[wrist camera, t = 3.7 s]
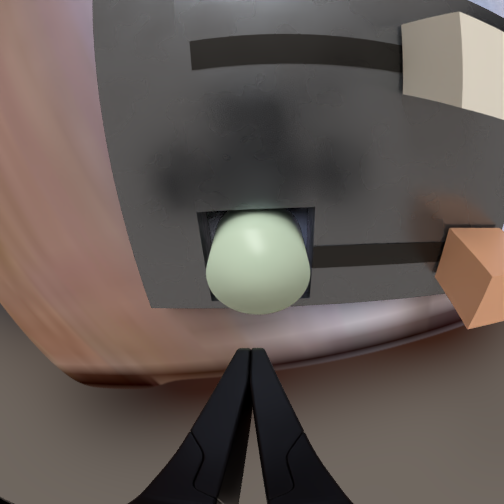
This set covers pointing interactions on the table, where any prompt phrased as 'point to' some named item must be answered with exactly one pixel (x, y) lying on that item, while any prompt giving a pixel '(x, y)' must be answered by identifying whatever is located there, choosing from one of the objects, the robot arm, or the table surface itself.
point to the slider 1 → (455, 62)
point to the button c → (258, 261)
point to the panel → (289, 140)
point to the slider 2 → (474, 274)
